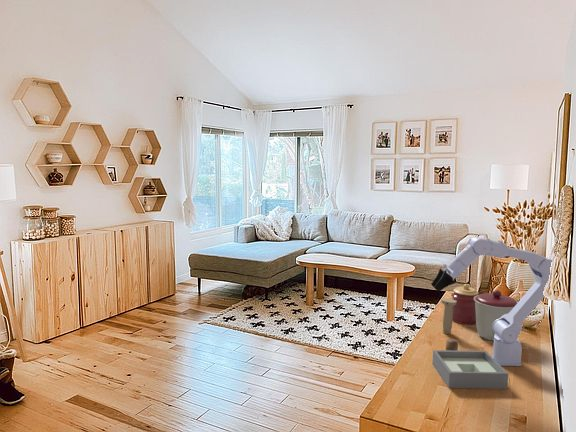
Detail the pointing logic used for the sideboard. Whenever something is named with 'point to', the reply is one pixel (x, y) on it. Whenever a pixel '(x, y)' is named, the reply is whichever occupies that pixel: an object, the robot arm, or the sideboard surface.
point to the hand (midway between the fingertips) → (434, 288)
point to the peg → (452, 344)
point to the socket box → (469, 369)
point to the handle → (447, 314)
